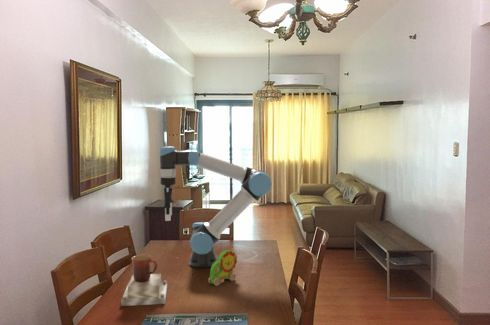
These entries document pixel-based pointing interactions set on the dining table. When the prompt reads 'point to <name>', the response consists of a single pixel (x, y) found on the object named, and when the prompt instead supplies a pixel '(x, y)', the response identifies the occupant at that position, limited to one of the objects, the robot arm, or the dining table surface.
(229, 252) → the toy lion
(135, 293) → the mottled white flat box
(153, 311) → the dining table surface
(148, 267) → the mug
